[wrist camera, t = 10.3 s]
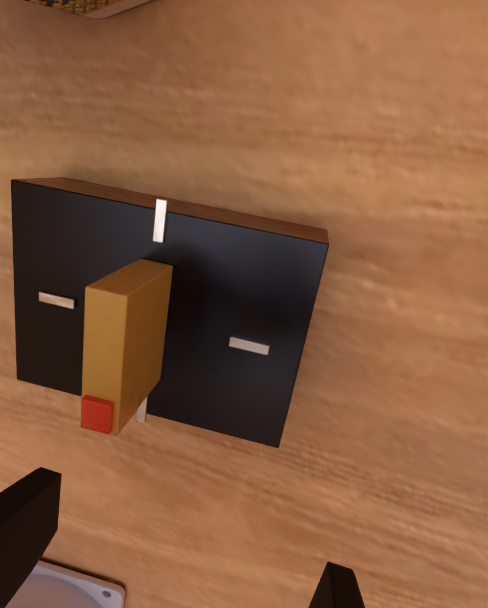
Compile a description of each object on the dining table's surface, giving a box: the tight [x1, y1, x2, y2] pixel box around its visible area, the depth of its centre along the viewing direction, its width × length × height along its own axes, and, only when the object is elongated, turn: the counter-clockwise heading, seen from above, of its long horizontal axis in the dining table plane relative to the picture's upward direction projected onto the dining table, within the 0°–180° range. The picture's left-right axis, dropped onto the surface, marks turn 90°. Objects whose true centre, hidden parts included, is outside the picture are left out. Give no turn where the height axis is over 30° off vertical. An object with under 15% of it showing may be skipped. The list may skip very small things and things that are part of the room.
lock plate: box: [11, 177, 329, 448], centre depth 16 cm, size 11×9×3 cm
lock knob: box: [81, 259, 173, 436], centre depth 13 cm, size 4×1×4 cm, turn 170°
